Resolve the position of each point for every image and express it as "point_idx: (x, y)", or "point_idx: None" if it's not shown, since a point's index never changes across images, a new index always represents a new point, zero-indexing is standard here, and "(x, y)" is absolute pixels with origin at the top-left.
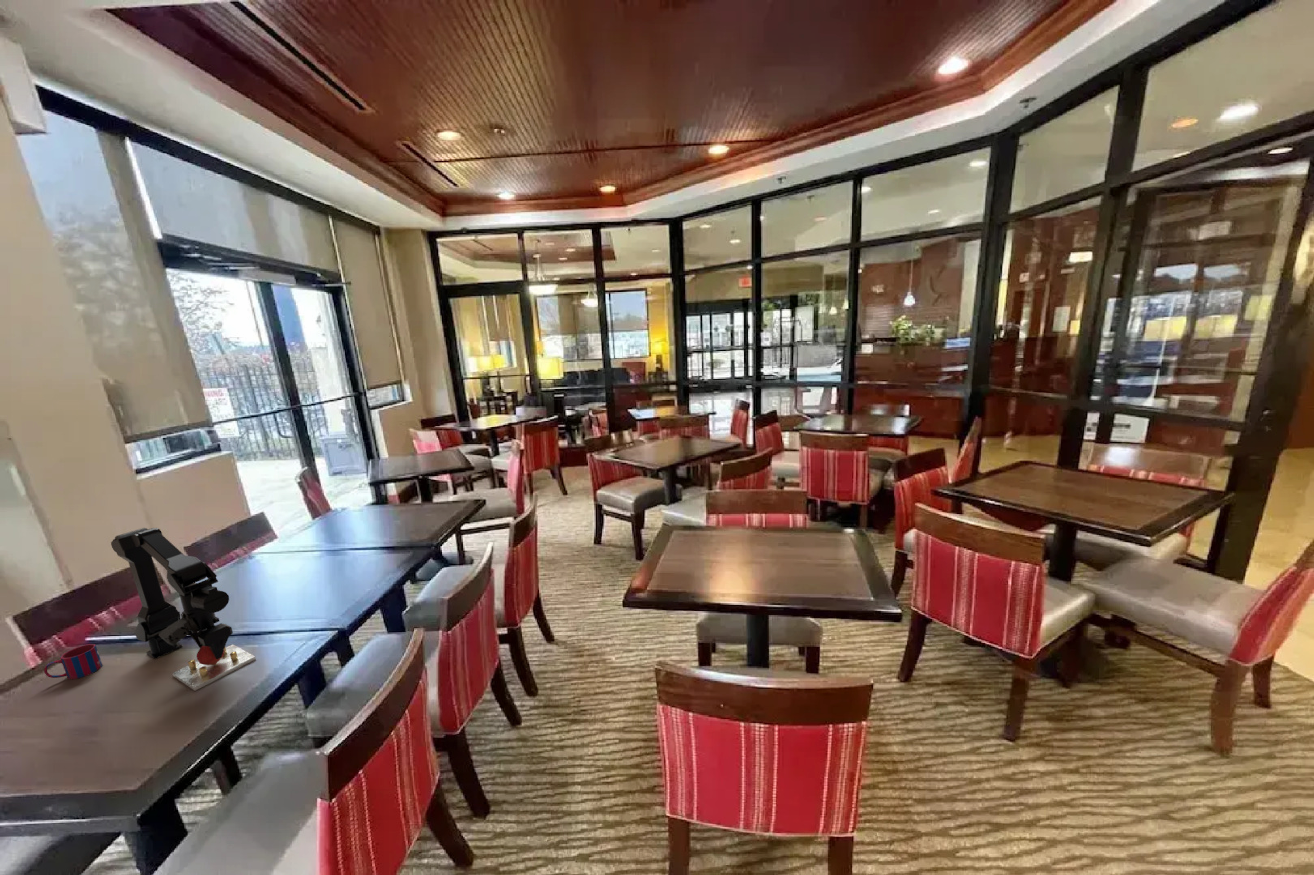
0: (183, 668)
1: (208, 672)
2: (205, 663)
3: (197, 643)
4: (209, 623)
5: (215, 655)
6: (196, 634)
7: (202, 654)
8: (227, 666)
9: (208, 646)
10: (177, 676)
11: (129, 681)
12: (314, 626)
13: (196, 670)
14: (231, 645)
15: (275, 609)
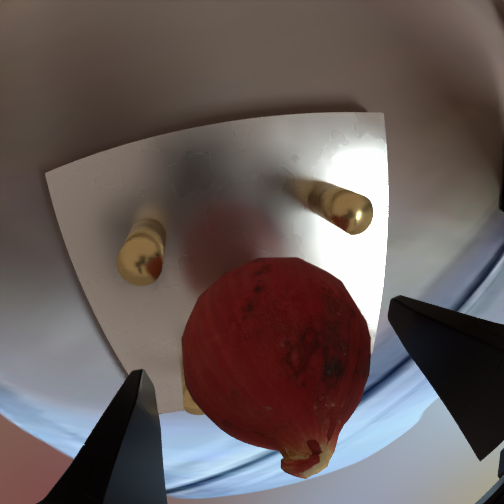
0: (380, 162)
1: (173, 259)
2: (206, 289)
3: (446, 327)
4: None
5: (110, 404)
6: (501, 379)
7: (224, 351)
8: (155, 339)
9: (256, 436)
10: (317, 113)
11: (455, 37)
12: (233, 478)
13: (282, 207)
14: None
15: (427, 398)
